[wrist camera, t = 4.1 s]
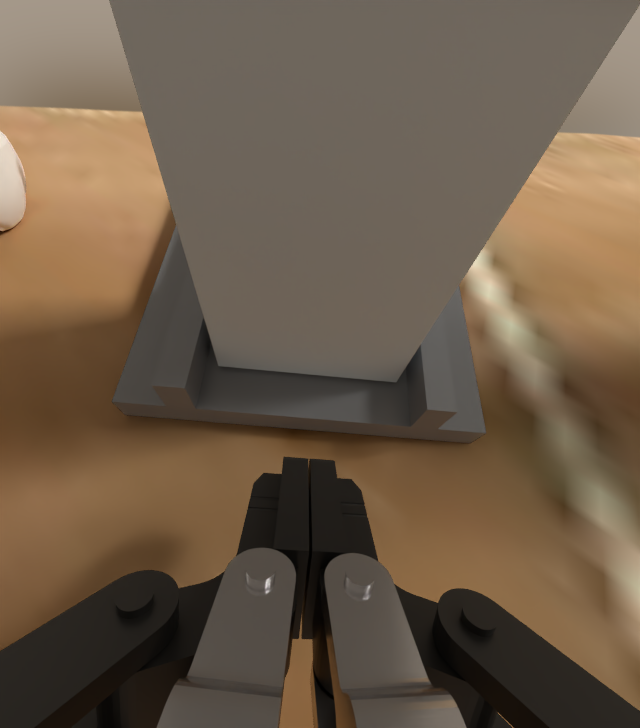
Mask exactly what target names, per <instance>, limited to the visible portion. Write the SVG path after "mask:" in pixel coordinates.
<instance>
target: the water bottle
mask: <svg viewBox="0 0 640 728" xmlns="http://www.w3.org/2000/svg"><path fill="white" fill-rule="evenodd" d="M25 194H26V181H25V173H24V169H23V166H22V163H21V161H20V159H19V157H18V155H17V154H16V152H15V150H14V148H13V146H12V145H11V143H10V142H9V140H8V139H7V137H6V136H5V135H4V134H3V133H2V132H1V131H0V231H5V230H8V229H11V228H13V227H14V226H15V225H17V224H18V223H19V222H20V221H21V220H22V218H23V215H24V212H25V208H26V198H25Z"/></svg>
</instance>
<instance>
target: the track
mask: <svg viewBox="0 0 640 728" xmlns="http://www.w3.org/2000/svg"><path fill="white" fill-rule="evenodd" d="M112 403H113V404H115V405H116V406H117V407H118V408H119V409H120V410H121V411H122V412H123V413H124V414H125V415H132V416H144V417H156V418H169V419H181V420H193V421H205V422H217V423H229V424H242V425H254V426H266V427H278V428H290V429H302V430H314V431H327V432H339V433H351V434H363V435H375V436H387V437H400V438H412V439H424V440H436V441H448V442H460V443H472V442H473V441H475V440H476V439H478V438H480V437H481V436H483V435H484V434H486V429H485V424H484V418H483V413H482V407H481V402H480V396H479V391H478V386H477V380H476V375H475V369H474V364H473V359H472V353H471V348H470V342H469V337H468V331H467V326H466V321H465V315H464V310H463V304H462V299H461V294H460V288H459V286H458V287H457V289H456V290H455V292H454V293H453V295H452V297H451V298H450V300H449V301H448V303H447V304H446V306H445V307H444V309H443V310H442V312H441V314H440V315H439V317H438V318H437V320H436V321H435V323H434V324H433V326H432V328H431V329H430V331H429V332H428V334H427V335H426V337H425V338H424V340H423V341H422V343H421V345H420V346H419V348H418V349H417V351H416V352H415V354H414V355H413V357H412V359H411V360H410V362H409V363H408V365H407V366H406V368H405V369H404V371H403V372H402V374H401V376H400V377H399V379H398V380H397V382H386V381H375V380H364V379H353V378H343V377H332V376H321V375H310V374H299V373H288V372H277V371H267V370H256V369H245V368H234V367H223V366H218V363H217V360H216V356H215V353H214V350H213V346H212V343H211V339H210V336H209V333H208V329H207V326H206V323H205V319H204V316H203V313H202V309H201V306H200V303H199V299H198V296H197V293H196V289H195V286H194V283H193V279H192V276H191V272H190V269H189V266H188V262H187V259H186V256H185V252H184V249H183V246H182V242H181V239H180V236H179V232H178V229H177V226H176V227H175V230H174V232H173V235H172V238H171V240H170V243H169V246H168V249H167V251H166V254H165V257H164V260H163V262H162V265H161V268H160V271H159V273H158V276H157V279H156V282H155V284H154V287H153V290H152V293H151V295H150V298H149V301H148V303H147V306H146V309H145V312H144V314H143V317H142V320H141V323H140V325H139V328H138V331H137V334H136V336H135V339H134V342H133V345H132V347H131V350H130V353H129V356H128V358H127V361H126V364H125V366H124V369H123V372H122V375H121V377H120V380H119V383H118V386H117V388H116V391H115V394H114V397H113V399H112Z"/></svg>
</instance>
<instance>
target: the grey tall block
mask: <svg viewBox="0 0 640 728" xmlns="http://www.w3.org/2000/svg"><path fill="white" fill-rule="evenodd" d="M109 1H110V5H111V8H112V11H113V14H114V18H115V21H116V24H117V28H118V31H119V35H120V38H121V41H122V44H123V48H124V51H125V55H126V58H127V61H128V65H129V68H130V71H131V74H132V78H133V81H134V85H135V88H136V91H137V95H138V98H139V102H140V105H141V108H142V112H143V115H144V118H145V122H146V125H147V128H148V132H149V135H150V138H151V142H152V145H153V149H154V152H155V155H156V159H157V162H158V165H159V169H160V172H161V175H162V179H163V182H164V185H165V189H166V192H167V195H168V199H169V202H170V205H171V209H172V212H173V216H174V219H175V222H176V226H177V229H178V232H179V236H180V239H181V242H182V246H183V249H184V252H185V256H186V259H187V262H188V266H189V269H190V272H191V276H192V279H193V283H194V286H195V289H196V293H197V296H198V299H199V303H200V306H201V309H202V313H203V316H204V319H205V323H206V326H207V329H208V333H209V336H210V339H211V343H212V346H213V350H214V353H215V356H216V360H217V363H218V366H223V367H234V368H245V369H256V370H267V371H277V372H288V373H299V374H310V375H321V376H332V377H343V378H353V379H364V380H375V381H386V382H397V380H398V379H399V377H400V376H401V374H402V372H403V371H404V369H405V368H406V366H407V365H408V363H409V362H410V360H411V359H412V357H413V355H414V354H415V352H416V351H417V349H418V348H419V346H420V345H421V343H422V341H423V340H424V338H425V337H426V335H427V334H428V332H429V331H430V329H431V328H432V326H433V324H434V323H435V321H436V320H437V318H438V317H439V315H440V314H441V312H442V310H443V309H444V307H445V306H446V304H447V303H448V301H449V300H450V298H451V297H452V295H453V293H454V292H455V290H456V289H457V287H458V286H459V284H460V283H461V281H462V279H463V278H464V276H465V275H466V273H467V272H468V270H469V269H470V267H471V266H472V264H473V262H474V261H475V259H476V258H477V256H478V255H479V253H480V252H481V250H482V248H483V247H484V245H485V244H486V242H487V241H488V239H489V238H490V236H491V235H492V233H493V231H494V230H495V228H496V227H497V225H498V224H499V222H500V221H501V219H502V217H503V216H504V214H505V213H506V211H507V210H508V208H509V207H510V205H511V204H512V202H513V200H514V199H515V197H516V196H517V194H518V193H519V191H520V190H521V188H522V186H523V185H524V183H525V182H526V180H527V179H528V177H529V176H530V174H531V173H532V171H533V169H534V168H535V166H536V165H537V163H538V162H539V160H540V159H541V157H542V155H543V154H544V152H545V151H546V149H547V148H548V146H549V145H550V143H551V142H552V140H553V138H554V137H555V135H556V134H557V132H558V130H559V129H560V128H561V126H562V124H563V123H564V121H565V120H566V118H567V116H568V115H569V114H570V112H571V110H572V109H573V107H574V106H575V104H576V103H577V101H578V99H579V98H580V97H581V95H582V94H583V92H584V90H585V89H586V87H587V86H588V84H589V83H590V81H591V80H592V78H593V76H594V75H595V73H596V72H597V70H598V69H599V67H600V66H601V64H602V62H603V61H604V59H605V58H606V56H607V55H608V53H609V51H610V50H611V49H612V47H613V45H614V44H615V42H616V41H617V39H618V38H619V36H620V35H621V33H622V31H623V30H624V28H625V27H626V25H627V24H628V22H629V21H630V19H631V18H632V16H633V14H634V13H635V11H636V10H637V8H638V6H639V5H640V0H109Z"/></svg>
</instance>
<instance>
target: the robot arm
mask: <svg viewBox="0 0 640 728" xmlns="http://www.w3.org/2000/svg"><path fill="white" fill-rule="evenodd" d="M301 614H302V639H313V661H312V669H311V676H310V685H311V698H312V712H313V725H314V728H512V727H511V726H510V725H509V724H508V723H507V722H506V721H505V720H504V719H503V718H502V717H501V716H500V715H499V714H498V713H500V714H501V715H502V716H503V717H504V718H505V719H506V720H507V721H508V722H509V723H510V724H511V725H512V726H513V727H514V728H640V711H639V710H637V709H636V708H635V707H633V706H632V705H631V704H629V703H628V702H627V701H625V700H624V699H623V698H621V697H620V696H619V695H617V694H616V693H615V692H613V691H612V690H611V689H609V688H608V687H607V686H605V685H604V684H603V683H601V682H600V681H599V680H598V679H596V678H595V677H594V676H592V675H591V674H590V673H588V672H587V671H586V670H584V669H583V668H582V667H580V666H579V665H578V664H576V663H575V662H574V661H572V660H571V659H570V658H568V657H567V656H566V655H564V654H563V653H562V652H560V651H559V650H558V649H556V648H555V647H554V646H552V645H551V644H550V643H548V642H547V641H546V640H544V639H543V638H542V637H540V636H539V635H538V634H536V633H535V632H534V631H532V630H531V629H530V628H528V627H527V626H526V625H524V624H523V623H522V622H520V621H519V620H518V619H516V618H515V617H514V616H512V615H511V614H510V613H508V612H507V611H506V610H504V609H503V608H502V607H500V606H499V605H498V604H497V603H495V602H494V601H492V600H491V599H489V598H488V597H486V596H484V595H482V594H480V593H478V592H475V591H472V590H469V589H451V590H449V591H447V592H445V593H444V594H443V595H442V596H441V598H440V600H439V602H438V603H436V602H433V601H430V600H428V599H425V598H422V597H419V596H416V595H413V594H411V593H408V592H406V591H405V590H403V589H401V588H399V587H398V586H397V585H395V584H394V582H393V580H392V577H391V575H390V574H389V572H388V571H387V569H386V568H385V567H384V566H383V565H382V564H380V563H379V562H378V558H377V554H376V550H375V546H374V542H373V538H372V533H371V529H370V525H369V521H368V517H367V513H366V509H365V506H364V500H363V496H362V492H361V490H360V489H359V488H358V486H357V485H356V484H355V483H354V482H353V481H352V479H341V478H337V474H336V467H335V461H333V460H320V459H310V461H309V468H308V459H305V458H292V457H284V459H283V468H282V474H271V473H263V474H262V475H261V476H260V477H259V478H258V479H257V480H256V481H255V482H254V484H253V489H252V493H251V498H250V501H249V506H248V510H247V514H246V518H245V522H244V527H243V531H242V535H241V539H240V543H239V548H238V552H237V555H236V557H234V558H233V559H232V560H231V562H230V563H229V564H228V566H227V568H226V570H225V572H223V573H222V574H221V575H219V576H217V577H216V578H214V579H212V580H209V581H207V582H204V583H200V584H196V585H192V586H188V587H183V588H179V589H178V586H177V584H176V582H175V581H174V579H173V578H172V577H170V576H169V575H168V574H165V573H163V572H160V571H154V570H144V571H138V572H134V573H131V574H128V575H126V576H123V577H121V578H119V579H118V580H116V581H114V582H112V583H111V584H109V585H107V586H106V587H104V588H103V589H101V590H99V591H98V592H96V593H94V594H93V595H91V596H90V597H88V598H86V599H85V600H83V601H81V602H80V603H78V604H77V605H75V606H73V607H72V608H70V609H68V610H67V611H65V612H63V613H62V614H60V615H59V616H57V617H55V618H54V619H52V620H50V621H49V622H47V623H46V624H44V625H42V626H41V627H39V628H37V629H36V630H34V631H32V632H31V633H29V634H28V635H26V636H24V637H23V638H21V639H19V640H18V641H16V642H15V643H13V644H11V645H10V646H8V647H6V648H5V649H3V650H1V651H0V728H279V723H280V714H281V706H282V697H283V689H284V680H285V677H286V675H287V672H288V669H289V664H290V656H291V647H292V639H299V631H300V623H301Z"/></svg>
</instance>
